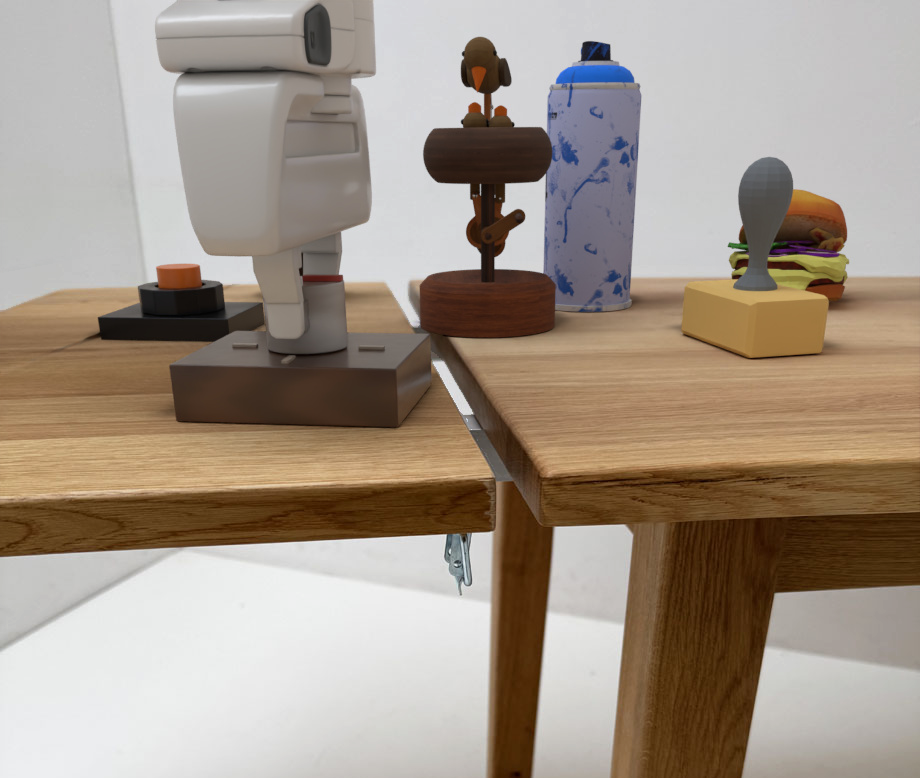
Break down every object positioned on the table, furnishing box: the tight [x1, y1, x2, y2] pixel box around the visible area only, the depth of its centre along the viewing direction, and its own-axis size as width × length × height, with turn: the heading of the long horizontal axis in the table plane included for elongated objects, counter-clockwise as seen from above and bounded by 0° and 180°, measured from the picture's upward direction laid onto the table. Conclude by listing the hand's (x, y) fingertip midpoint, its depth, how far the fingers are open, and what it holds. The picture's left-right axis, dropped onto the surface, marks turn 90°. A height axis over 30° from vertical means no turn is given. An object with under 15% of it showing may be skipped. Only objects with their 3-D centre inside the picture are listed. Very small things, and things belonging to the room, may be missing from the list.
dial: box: [262, 274, 348, 354], centre depth 56 cm, size 4×4×4 cm
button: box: [155, 263, 203, 288], centre depth 77 cm, size 3×3×2 cm
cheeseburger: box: [727, 188, 850, 302], centre depth 88 cm, size 10×11×10 cm
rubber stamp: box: [680, 156, 830, 359], centre depth 69 cm, size 10×6×12 cm, turn 15°
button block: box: [97, 279, 265, 343], centre depth 78 cm, size 10×8×4 cm
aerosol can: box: [542, 40, 642, 313], centre depth 85 cm, size 8×8×20 cm
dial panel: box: [168, 330, 433, 428], centre depth 57 cm, size 12×10×3 cm
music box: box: [419, 36, 556, 339], centre depth 75 cm, size 15×11×20 cm
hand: (305, 327), depth 56 cm, fingers closed on dial, 4 cm apart
